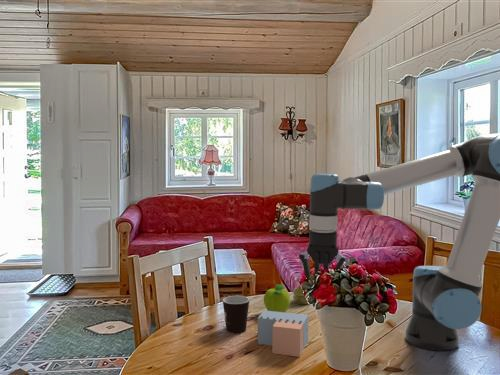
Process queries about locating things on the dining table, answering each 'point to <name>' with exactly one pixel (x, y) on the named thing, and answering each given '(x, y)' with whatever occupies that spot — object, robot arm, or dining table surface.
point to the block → (288, 338)
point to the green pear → (299, 295)
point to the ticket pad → (268, 321)
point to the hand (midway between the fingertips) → (320, 314)
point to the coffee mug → (236, 313)
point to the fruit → (277, 299)
